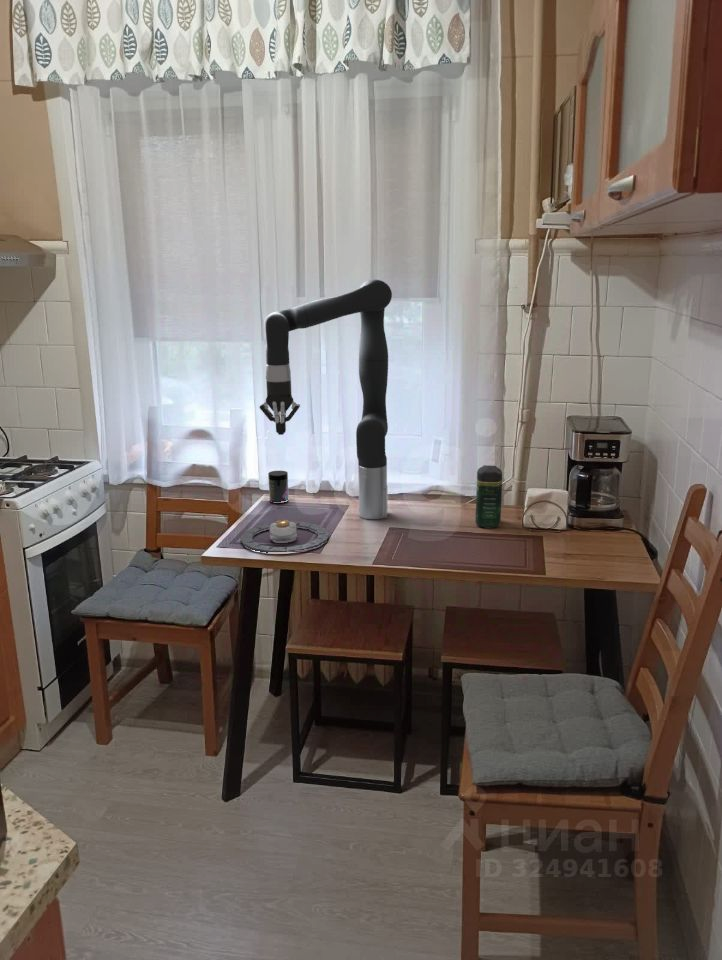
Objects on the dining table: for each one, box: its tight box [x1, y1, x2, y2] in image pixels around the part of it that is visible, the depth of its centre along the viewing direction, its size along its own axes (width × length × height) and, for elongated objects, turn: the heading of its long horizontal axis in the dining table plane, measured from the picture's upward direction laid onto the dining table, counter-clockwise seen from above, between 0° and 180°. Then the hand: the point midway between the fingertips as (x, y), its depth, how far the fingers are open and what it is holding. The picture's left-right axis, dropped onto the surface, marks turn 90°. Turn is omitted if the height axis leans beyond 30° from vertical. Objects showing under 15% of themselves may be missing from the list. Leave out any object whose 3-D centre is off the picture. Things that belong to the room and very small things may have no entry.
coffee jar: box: [475, 464, 503, 529], centre depth 247 cm, size 10×8×19 cm
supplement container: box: [267, 470, 289, 502], centre depth 275 cm, size 7×7×10 cm
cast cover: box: [269, 519, 298, 541], centre depth 239 cm, size 8×8×6 cm
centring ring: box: [240, 521, 330, 553], centre depth 239 cm, size 26×26×1 cm
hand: (281, 434), depth 247 cm, fingers closed
